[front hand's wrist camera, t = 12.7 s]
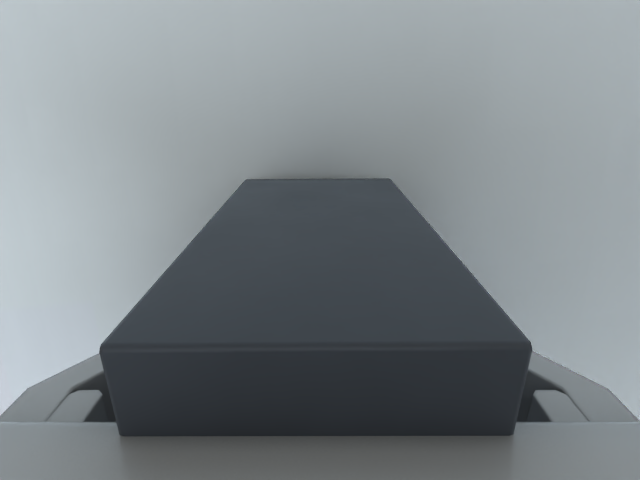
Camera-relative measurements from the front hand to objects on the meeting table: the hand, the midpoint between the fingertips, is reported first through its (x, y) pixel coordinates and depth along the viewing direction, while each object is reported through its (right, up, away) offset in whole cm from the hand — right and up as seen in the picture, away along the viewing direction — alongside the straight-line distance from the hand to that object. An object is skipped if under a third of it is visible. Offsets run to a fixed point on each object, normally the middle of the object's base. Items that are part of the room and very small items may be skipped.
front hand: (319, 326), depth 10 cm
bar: (0, -6, +7) cm, 10 cm away
